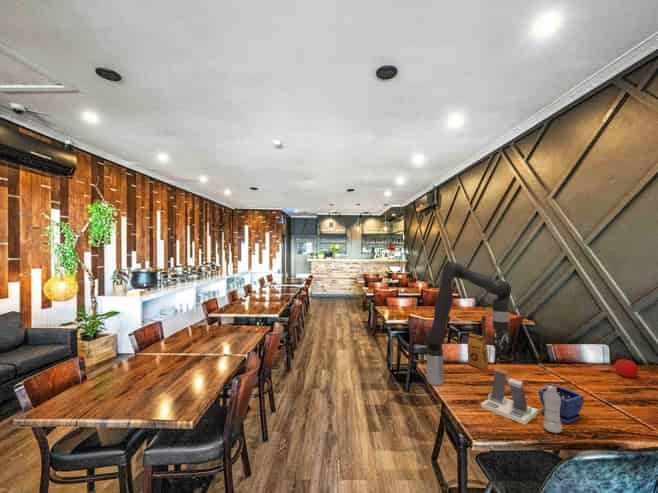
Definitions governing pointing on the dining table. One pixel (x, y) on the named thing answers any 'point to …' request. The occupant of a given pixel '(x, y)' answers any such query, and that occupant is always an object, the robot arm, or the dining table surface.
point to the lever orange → (499, 384)
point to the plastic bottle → (552, 409)
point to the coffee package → (477, 351)
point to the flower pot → (566, 404)
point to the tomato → (626, 368)
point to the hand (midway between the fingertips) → (501, 351)
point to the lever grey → (518, 394)
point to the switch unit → (509, 410)
